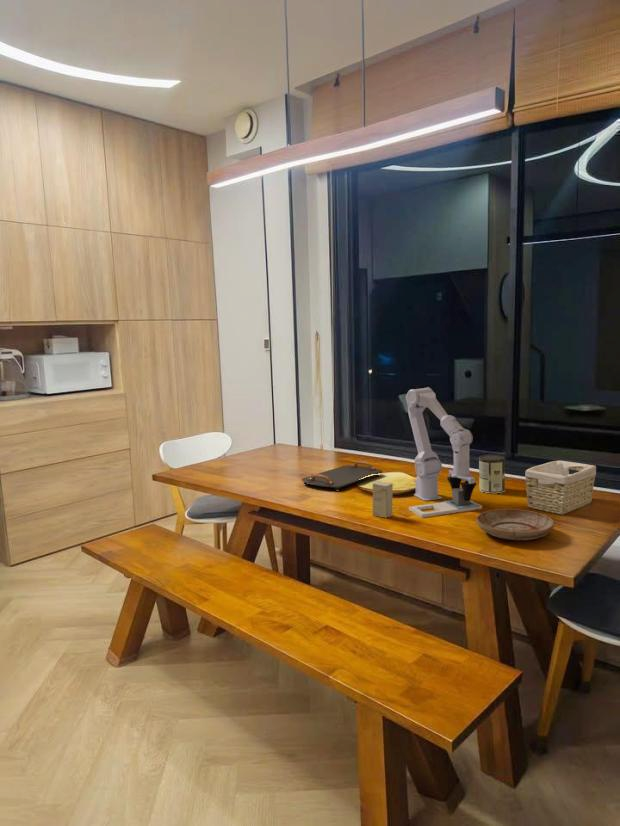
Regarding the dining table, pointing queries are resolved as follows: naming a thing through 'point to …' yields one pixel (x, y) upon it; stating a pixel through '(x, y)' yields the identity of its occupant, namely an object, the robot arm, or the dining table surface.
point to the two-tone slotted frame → (443, 508)
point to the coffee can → (492, 474)
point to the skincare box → (382, 499)
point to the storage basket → (559, 486)
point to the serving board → (341, 475)
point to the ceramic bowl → (515, 524)
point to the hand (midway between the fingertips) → (461, 497)
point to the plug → (458, 497)
